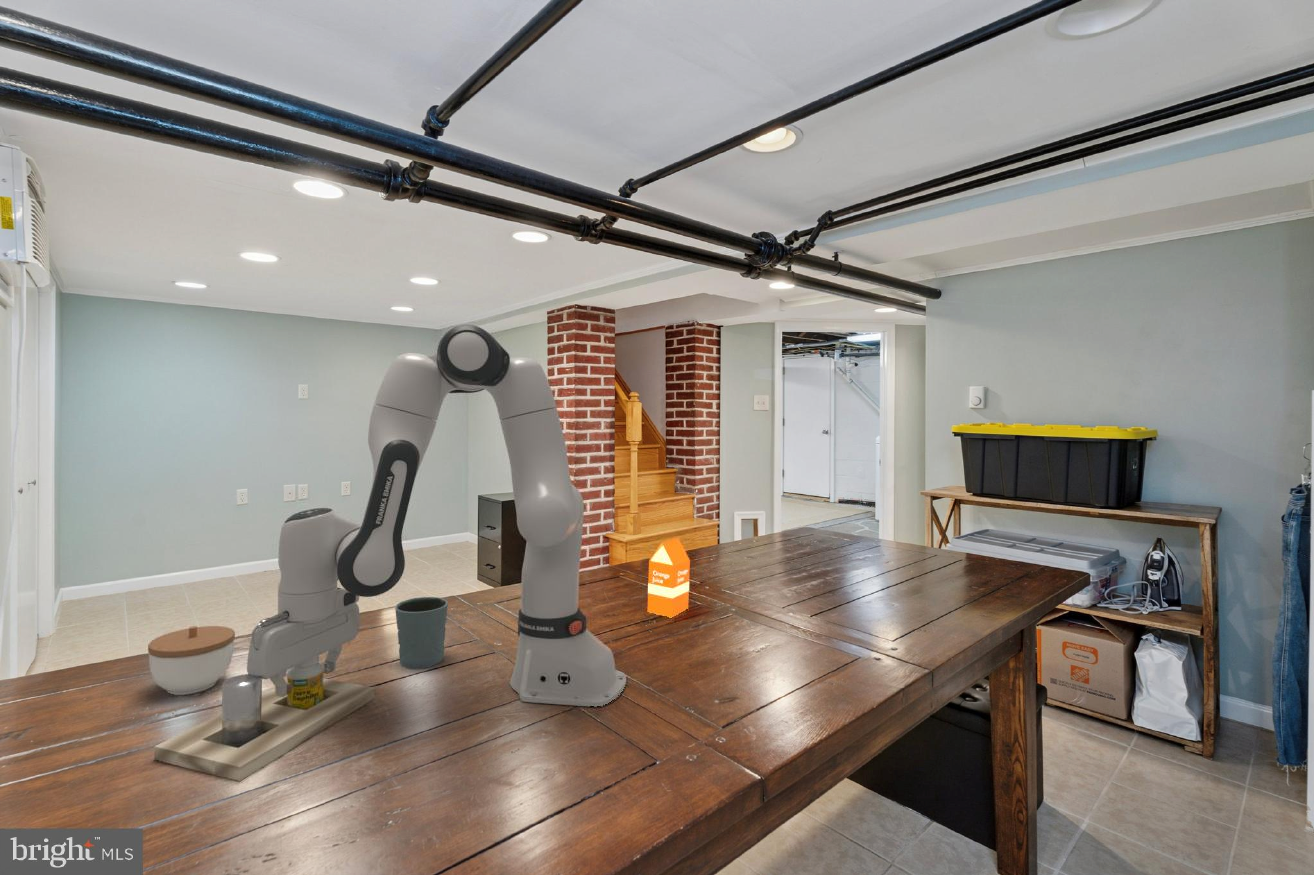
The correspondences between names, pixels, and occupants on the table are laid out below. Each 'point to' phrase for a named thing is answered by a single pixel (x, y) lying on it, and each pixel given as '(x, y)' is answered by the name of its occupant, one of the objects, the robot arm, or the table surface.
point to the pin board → (277, 727)
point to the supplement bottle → (306, 684)
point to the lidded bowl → (191, 658)
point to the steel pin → (241, 709)
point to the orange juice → (668, 579)
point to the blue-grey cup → (421, 631)
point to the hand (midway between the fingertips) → (307, 682)
